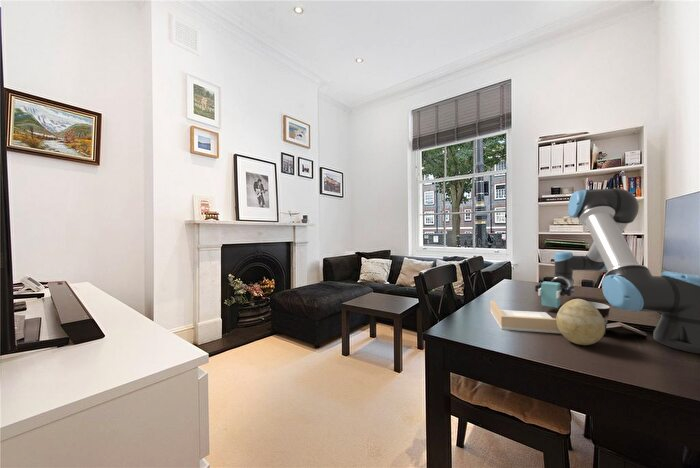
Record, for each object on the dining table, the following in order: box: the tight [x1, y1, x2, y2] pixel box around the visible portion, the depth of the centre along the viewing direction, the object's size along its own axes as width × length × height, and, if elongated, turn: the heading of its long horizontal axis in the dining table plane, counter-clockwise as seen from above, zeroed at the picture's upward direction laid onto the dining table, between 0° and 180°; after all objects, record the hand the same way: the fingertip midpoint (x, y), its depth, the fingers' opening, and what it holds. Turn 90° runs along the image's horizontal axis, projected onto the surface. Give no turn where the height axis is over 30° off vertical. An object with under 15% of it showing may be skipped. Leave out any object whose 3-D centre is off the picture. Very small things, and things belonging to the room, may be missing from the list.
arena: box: [489, 300, 561, 334], centre depth 117 cm, size 22×22×5 cm
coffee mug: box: [588, 301, 611, 336], centre depth 104 cm, size 12×9×10 cm
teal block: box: [540, 281, 561, 309], centre depth 129 cm, size 6×6×10 cm
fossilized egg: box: [555, 298, 605, 346], centre depth 95 cm, size 13×13×15 cm
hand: (548, 293), depth 125 cm, fingers closed on teal block, 6 cm apart
